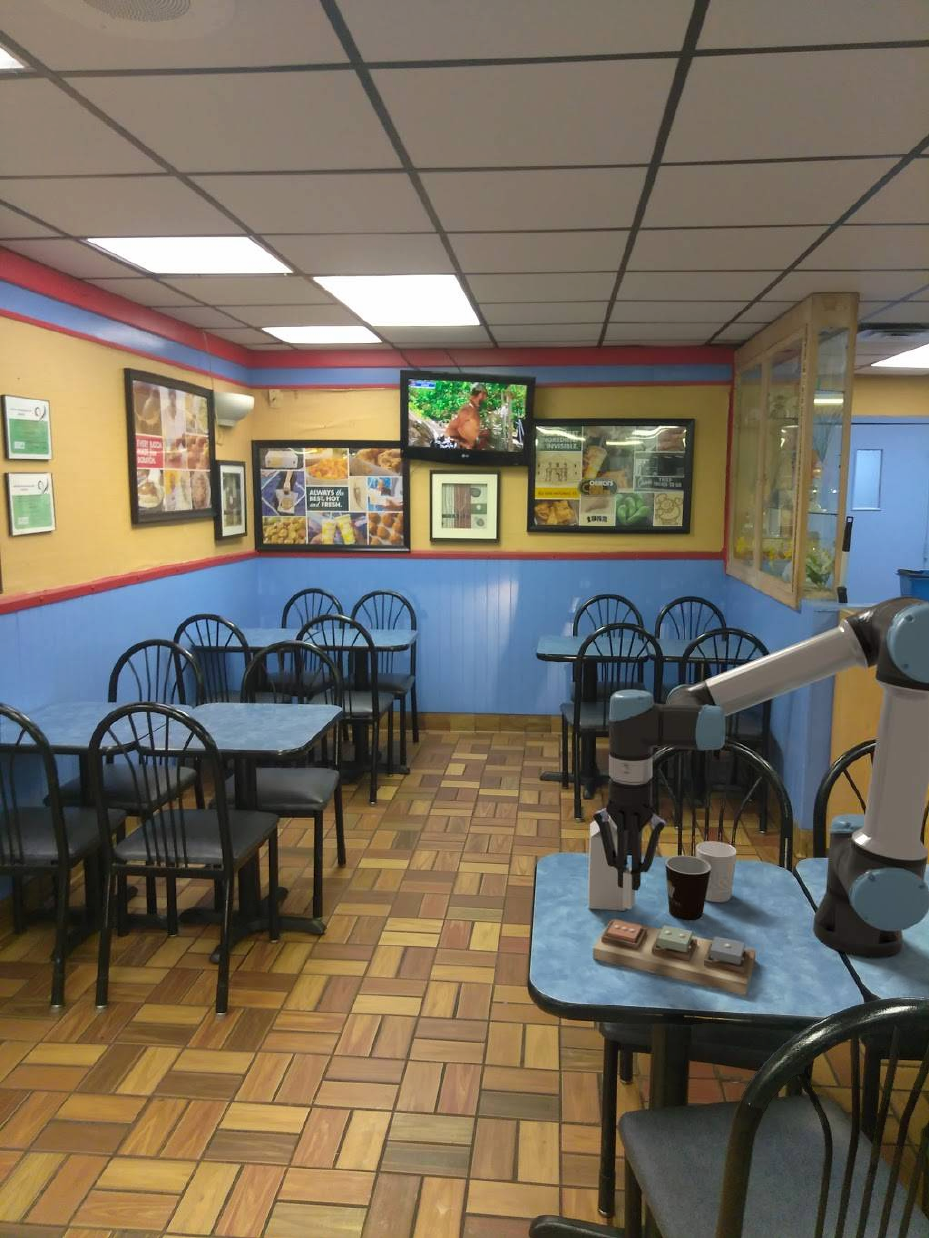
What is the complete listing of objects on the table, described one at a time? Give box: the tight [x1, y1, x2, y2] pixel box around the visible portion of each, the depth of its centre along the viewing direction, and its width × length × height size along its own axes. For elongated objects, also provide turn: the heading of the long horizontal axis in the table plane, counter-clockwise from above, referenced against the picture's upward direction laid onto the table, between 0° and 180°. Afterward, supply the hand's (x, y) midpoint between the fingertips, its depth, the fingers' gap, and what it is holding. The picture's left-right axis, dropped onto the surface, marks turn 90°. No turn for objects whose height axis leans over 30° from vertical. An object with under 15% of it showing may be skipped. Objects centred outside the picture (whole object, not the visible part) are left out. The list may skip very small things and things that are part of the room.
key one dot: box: [710, 936, 746, 965], centre depth 151 cm, size 5×5×2 cm
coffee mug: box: [664, 855, 711, 922], centre depth 174 cm, size 12×9×10 cm
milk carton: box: [587, 816, 628, 912], centre depth 176 cm, size 7×7×19 cm
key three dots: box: [607, 919, 642, 943], centre depth 159 cm, size 5×5×2 cm
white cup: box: [695, 840, 737, 903], centre depth 180 cm, size 8×8×10 cm
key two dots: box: [657, 925, 693, 952], centre depth 155 cm, size 5×5×2 cm
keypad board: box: [592, 918, 757, 996], centre depth 155 cm, size 26×12×3 cm, turn 65°
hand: (628, 904), depth 158 cm, fingers closed
